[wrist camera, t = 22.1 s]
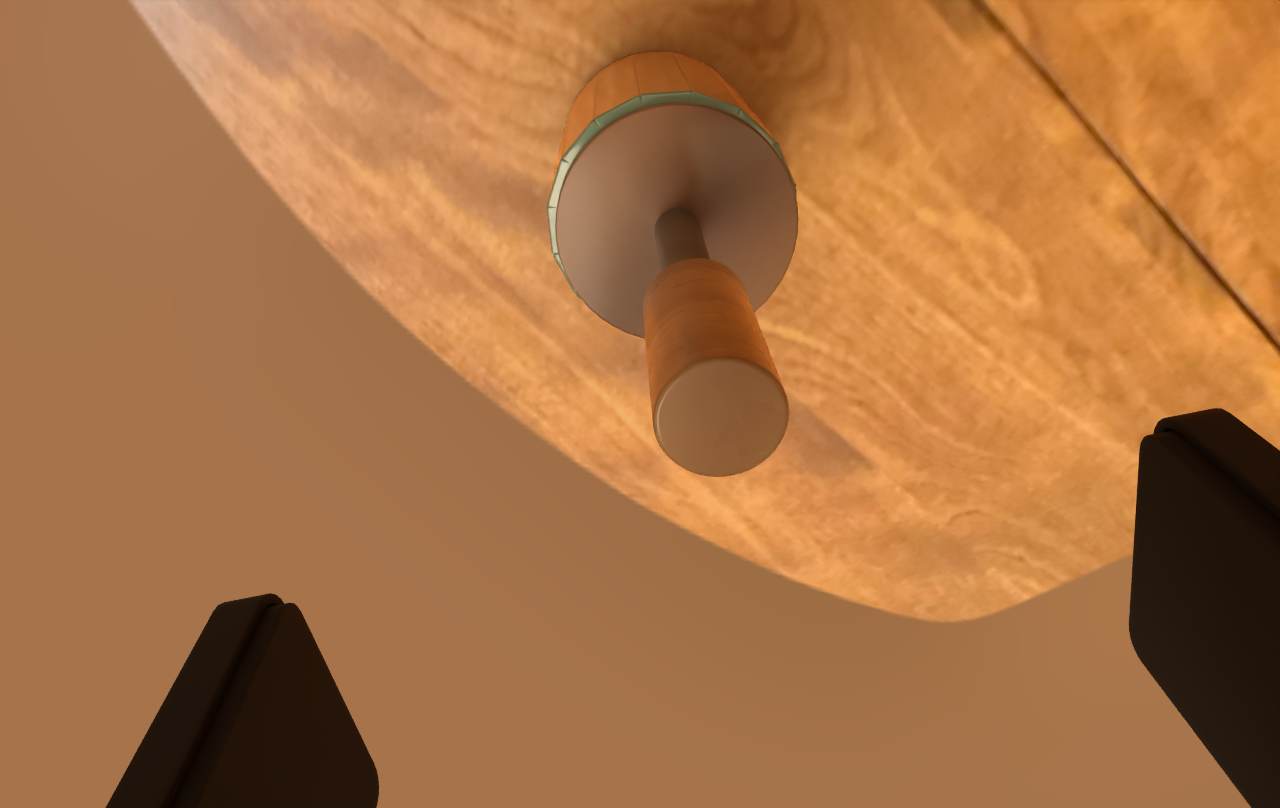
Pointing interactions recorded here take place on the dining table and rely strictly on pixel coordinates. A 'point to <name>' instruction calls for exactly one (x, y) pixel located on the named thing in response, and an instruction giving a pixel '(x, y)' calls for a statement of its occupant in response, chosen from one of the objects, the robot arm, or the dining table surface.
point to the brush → (687, 270)
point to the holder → (636, 88)
